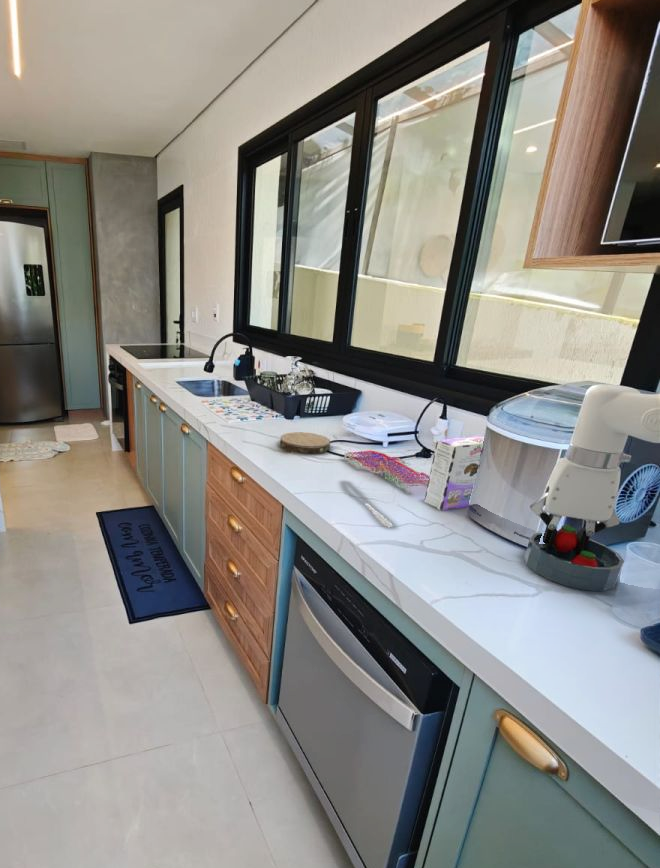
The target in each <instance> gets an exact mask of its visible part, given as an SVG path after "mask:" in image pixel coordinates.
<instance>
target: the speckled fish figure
mask: <svg viewBox="0 0 660 868" xmlns="http://www.w3.org/2000/svg"><path fill="white" fill-rule="evenodd" d="M347 458H348V462H349V465H352V463H354V462H355V463H357V464H356V465H355V466H356V467H355V469H357V471H358V470H362V467H363V468H364V469H366V470H367V471H368V472H370V473H372V474H376V475H380V477H382V478H383V477H384V479H385V480H386V481H388V482H390V483H394V484H395V486H396V487H398V489H400V488H401V490H402V491H404V492H405V493H408V492H409V491H410V487H418V486H428V481H429V476H430V474H427V473H425V472H418V471H416V470H415V469H414V468H412V467H410V466H412V464H411V463H409V462H407V461H405V460H404V459H402V458H400V457H398V456H390V455H388V454H386V453H384V452H378V451H376V450H364V451H354V452H353V451H349V452H344V457H343V460H344V461H345V462H346V461H347ZM399 483H400V484H401V485H399Z"/></svg>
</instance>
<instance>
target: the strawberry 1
mask: <svg viewBox="0 0 660 868" xmlns="http://www.w3.org/2000/svg"><path fill="white" fill-rule="evenodd" d="M557 531H558V533H557V536H556V539H555V542H554V546H555V547H556V549H557V550H559V551H562V552H568V551H569V550H572V549H574V548H575V547H576V546H577V544H578V538H577V536H576V534H577V529H576V528H575V527H573V526H571V525H566V524H565V525H562V526H561V528H559V529H557Z"/></svg>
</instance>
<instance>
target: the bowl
mask: <svg viewBox="0 0 660 868" xmlns="http://www.w3.org/2000/svg"><path fill="white" fill-rule="evenodd" d="M541 536H542V533H539V532H534V533H533V534H532V535H531V536H530V537H529V541H528V543H527V547H526V551H525V554H524V556H523V557H524V561H525V564H526V566H527V567H528V568H529V569H531V570H532V571H533V572H534V573H536V574H538V575H539V576H541V577H543V578H545V579H547V580H548V581H551V582H554V583H557V584H559V585H562V586H565V587H567V588H572V589H577V590H581V591H588V592H603V591H604V592H605V591H608V590H611V589H614V588H615V585H616V583H617V581H618V579H619V577H620V573H621V571H622V568H623V566H624V563H625V560H624V558H623V557H622V556H621V554H620V553H618V552H617V551H616V550H614V549H613V548H611V547H609V546H608V545H605V544H603V543H601V542H598V541H596V540H594V539H591V538H589V540H588V543H587V546H586V549H585V550H582V551H588V552H591V553H593V554H595V560H596V563H597V566H598V567H589V566H584V565H579V564H574V563H571V561H572V559H573V558H574V557H576V556H578V555H577V554H575V552H574V550H573V549H572V550H569V551H568V552H562V551H559V550H557V549H556V547H555V546H554V545H553V548H552V549H551V550H550V549H547V547H546V545H545V544H539V542H540V538H541Z"/></svg>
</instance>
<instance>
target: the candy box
mask: <svg viewBox="0 0 660 868" xmlns="http://www.w3.org/2000/svg"><path fill="white" fill-rule="evenodd" d="M484 437H485V436H483V435H472V436H463V437H455V438H443V439H437V440H436V444H435V448H434V453H433V457H432V462H431V467H430V473H429V479H428V480H429V481H427V482H428V485H426V486H427V487H426V492H425V496H424V503H426V504H428V505H430V506H432V507H434V508H436V509H438V510H439V511H445V510H451V509H458V508H459V509H460V508H465V507H470V506H469V500H470V496H471V493H472V489H473V485H474V481H475V478H476V474H477V469H478V465H479V459H480V454H481V450H482V446H483V441H484Z"/></svg>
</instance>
